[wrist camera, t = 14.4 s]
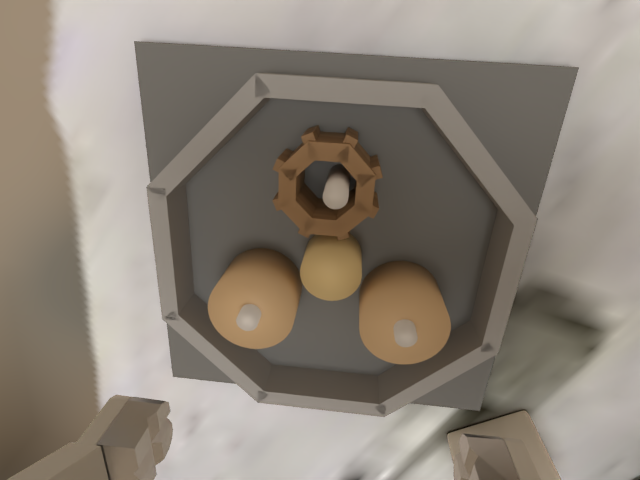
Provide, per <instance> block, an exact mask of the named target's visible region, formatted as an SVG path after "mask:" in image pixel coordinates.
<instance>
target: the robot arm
mask: <svg viewBox="0 0 640 480" xmlns="http://www.w3.org/2000/svg"><path fill="white" fill-rule="evenodd" d="M169 413H170V407H169V402H166V401H160V400H153V399H145V398H138V397H129V396H121V395H115V396H113V397H112V398H110V399H109V400H108V402H107V403H106V404H105V406H104V407H103V408H102V409H101V411H100V412H99V413H98V415H97V416H96V417H95V419H94V420H93V421H92V422H91V424H90V425H89V426H88V428H87V429H86V430H85V432H84V433H83V434H82V435H81V437H80V438H79V439H78V441H77V442H76V443H72V442H71V443H69V444H67V445H65V446H64V447H62V448H60V449H58V450H57V451H55V452H53V453H52V454H50V455H48V456H47V457H45V458H43V459H42V460H40V461H38V462H36V463H35V464H33V465H31V466H29V467H28V468H26V469H24V470H23V471H21V472H19V473H18V474H16V475H14V476H12V477H11V478H9V479H7V480H154V478H155V476H156V468H155V465H157V464H158V463H159V462H161V461H162V460H164V458H165V456H166V454H167V452H168V450H169V447H170V444H171V440H172V433H173V427H172V423H171V421H170V420H169V419H168V418H167V416H168V414H169ZM459 446H460V450H461V452H459V453H458V454H457V455H456V456H455V461H454V480H541V479H540V476H539V474H538V472H537V470H536V468H535V465H534V463H533V461H532V459H531V456H530V454H529V452H528V450H527V447H526V445H525V443H524V442H523V441H522V440H521V439H513V438H504V437H501V438H500V437H496V436H485V435H475V434H465V433H463V434H462V435H461V437H460V440H459Z"/></svg>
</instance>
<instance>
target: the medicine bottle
mask: <svg viewBox="0 0 640 480" xmlns="http://www.w3.org/2000/svg"><path fill="white" fill-rule="evenodd" d="M463 433H465V434H475V435H485V436H496V437H500V438H501V437H504V438H513V439H521V440H522V441H523V442H524V443H525V445H526V447H527V450H528V452H529V454H530V456H531V459H532V461H533V463H534V465H535V468H536V470H537V472H538V474H539V476H540V479H541V480H561V478H560V476H559V474H558V472H557V470H556V468H555V466H554V464H553V462H552V460H551V458H550V456H549V454H548V452H547V450H546V448H545V446H544V444H543V442H542V440H541V438H540V436H539V434H538V432H537V429H536V427H535V425H534V423H533V421H532V419H531V417H530V415H529V414H528V412H527V411H519V412H516V413H513V414H510V415H506V416H503V417H500V418H496V419H493V420H490V421H487V422H483V423H480V424H477V425H473V426H470V427H467V428H464V429H460V430H457V431H454V432H450V433H448V435H447V439H448V443H449V447H450V451H451V455H452V459H453V464H454V461H455V456H456V455H457V454H458V453H459V452H461V450H460V446H459V440H460V437H461V435H462V434H463Z"/></svg>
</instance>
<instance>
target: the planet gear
mask: <svg viewBox="0 0 640 480" xmlns="http://www.w3.org/2000/svg"><path fill="white" fill-rule="evenodd" d="M301 138H302V141H303V143H302V144H301V145H300V146H299V147H298V148H296V149H295V150H294V151H291V150H289V149H286V150H285V151H284V152H283V153H282V154H281V155H280V156H279V157H278V158H277V160H276V162H275V165H274V167H273V169H272V170H275V171H277V172H279V191H278V193H277V194H276V196H275V197H274V199H273V200H272V201H273V203H274V206H275V208H276V211H279V210H282V211H283V212H284V213H285V214H286V215H287V216H288V217H289V218H290V219H291V220H292V221H293V222H294V223H295V224H296V225H297V226H298V228H299V231H298V233H299V234H301V235H303V236H305V237H307V238H308V237H309V235H310V234H315V235H327V236H337V238H338V241H339V240H342V239H346V238H349V236H350V230H351V229H353V228H354V227H355V226H356V225H358V224H359V223H360V222H361V221H363V220H364V219H365V218H367V217H368V216H369V217H371V218H373V219H374V217H375V215H376V214H377V212H378V210H379V204H378V197H377V193H376V192H374V187H375V180H377V179H380V178H383V176H382V171H381V167H380V163H379V160H378V156H377V155H374V156H371V157H370V156H369V154H368V153H367V152H366V151H365V150H364V148H363V147H362V146H361V145H360V144H359V143H358V132H357V131H355V130H353V129H351V128H349V127H348V128H347V130H346V132H345V133H337V132H323V131H320V128H319V125H317V126H314V127H311V128H308V129H307V130H306V131H305V132H304V134H303V135H302V136H301ZM315 160H316V161H330V162H341V164H342V165H343V166H344V167H345V168H346V169H347V170H348V172H349V173H350V174H351V175H352V176H353V177H354V179H355V180H356V185H355V187H354V188H353V189H352V190H351V191H349V197H348V202H347V203H346V205H345V206H344V207H342V208H340V209H331V208H329V207H327V206H326V205H325V203H324V201H323V199H322V198H318V197H317V196H316V195H315V194H314V193H313V192H312V191H311V189H310V188H309V187H308V186H307V185H306V184H305V183H304V179H305V169H306V168H307V167H308V166H309V165H310V164H311V163H312V162H313V161H315Z"/></svg>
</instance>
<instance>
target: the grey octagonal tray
mask: <svg viewBox="0 0 640 480" xmlns="http://www.w3.org/2000/svg"><path fill="white" fill-rule="evenodd" d="M134 44H135V53H136V61H137V70H138V78H139V87H140V96H141V104H142V113H143V122H144V130H145V139H146V148H147V156H148V165H149V173H150V182H151V183H150V184H149V185H148V186H147V196H148V204H149V212H150V221H151V229H152V237H153V245H154V254H155V262H156V270H157V279H158V287H159V295H160V303H161V312H162V319H163V320H164V321H165V322H166V323H167V329H168V337H169V346H170V355H171V363H172V372H173V377H180V378H189V379H198V380H207V381H216V382H225V383H234V384H237V385H238V386H239V387H241V388H242V389H243V390H244V391H245V392H246V393H247V394H249V395H250V396H251V397H252V398H253V399H254V400H255V401H257V402H258V403H266V404H275V405H284V406H293V407H301V408H310V409H319V410H328V411H337V412H345V413H354V414H363V415H372V416H381V417H385V416H387V415H389V414H391V413H392V412H394V411H396V410H398V409H400V408H401V407H403V406H405V405H407V404H408V403H414V404H423V405H432V406H441V407H450V408H459V409H468V410H477V411H480V408H481V405H482V401H483V398H484V394H485V391H486V387H487V384H488V380H489V377H490V373H491V370H492V367H493V363H494V360H495V356H496V355H497V354H498V353H499V350H500V346H501V343H502V339H503V336H504V333H505V329H506V326H507V322H508V319H509V315H510V312H511V308H512V305H513V302H514V298H515V295H516V291H517V288H518V284H519V281H520V278H521V274H522V271H523V267H524V264H525V260H526V257H527V254H528V250H529V247H530V243H531V240H532V236H533V233H534V230H535V226H536V223H537V218H536V214H537V211H538V207H539V204H540V200H541V197H542V193H543V190H544V186H545V183H546V179H547V176H548V173H549V169H550V166H551V162H552V159H553V155H554V152H555V148H556V145H557V141H558V138H559V134H560V131H561V127H562V124H563V121H564V117H565V114H566V110H567V107H568V103H569V100H570V96H571V93H572V89H573V86H574V82H575V79H576V76H577V72H578V69H579V67H562V66H545V65H528V64H511V63H494V62H477V61H460V60H443V59H426V58H409V57H392V56H375V55H358V54H341V53H324V52H307V51H290V50H273V49H256V48H239V47H222V46H205V45H188V44H171V43H154V42H137V41H134ZM317 125H319V128H320V131H323V132H337V133H345V132H346V130H347V128H348V127H349V128H351V129H353V130H355V131H357V132H358V143H359V144H360V145H361V146H362V147H363V148H364V150H365V151H366V152H367V153H368V154H369V156H370V157H371V156H374V155H377V156H378V160H379V163H380V167H381V171H382V176H383V178H380V179H377V180H375V187H374V192H376V193H377V197H378V204H379V210H378V212H377V214H376V215H375V217H374V219H373V218H371V217H369V216H368V217H367V218H365V219H364V220H363V221H361V222H360V223H359V224H358V225H356V226H355V227H354V228H353V229H351V230H350V236H349V238H346V239H342V240H339V241H338V238H337V236H327V235H315V234H310V235H309V237H308V238H307V237H305V236H303V235H301V234H299V233H298V231H299V228H298V226H297V225H296V224H295V223H294V222H293V221H292V220H291V219H290V218H289V217H288V216H287V215H286V214H285V213H284V212H283V211H282V210H279V211H276V208H275V206H274V203H273V201H272V200H273V199H274V197H275V196H276V194H277V193H278V191H279V172H277V171H275V170H272V169H273V167H274V165H275V162H276V160H277V158H278V157H279V156H280V155H281V154H282V153H283V152H284V151H285V150H286V149H289V150H291V151H294V150H295V149H296V148H298V147H299V146H300V145H301V144H302V143H303V141H302V138H301V136H302V135H303V134H304V132H305V131H306V130H307V129H308V128H311V127H314V126H317ZM304 183H305V184H306V185H307V186H308V187H309V188H310V189H311V191H312V192H313V193H314V194H315V195H316V196H317V197H318V198H322V199H323V201H324V203H325V205H326V206H327V207H329V208H331V209H340V208H342V207H344V206H345V205H346V203H347V202H348V197H349V191H351V190H352V189H353V188H354V187H355V185H356V180H355V179H354V177H353V176H352V175H351V174H350V173H349V172H348V170H347V169H346V168H345V167H344V166H343V165H342V164H341V162H330V161H316V160H315V161H313V162H312V163H311V164H310V165H309V166H308V167H307V168H306V169H305V179H304Z"/></svg>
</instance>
